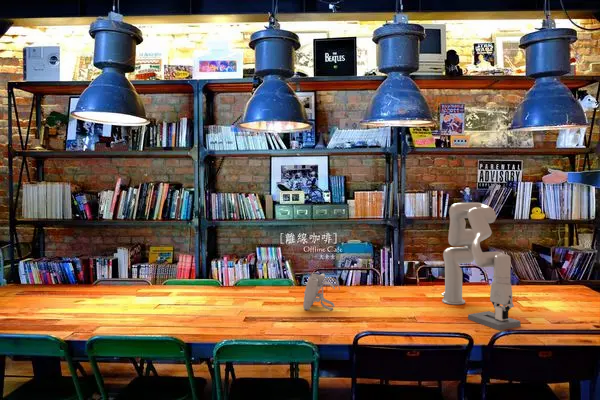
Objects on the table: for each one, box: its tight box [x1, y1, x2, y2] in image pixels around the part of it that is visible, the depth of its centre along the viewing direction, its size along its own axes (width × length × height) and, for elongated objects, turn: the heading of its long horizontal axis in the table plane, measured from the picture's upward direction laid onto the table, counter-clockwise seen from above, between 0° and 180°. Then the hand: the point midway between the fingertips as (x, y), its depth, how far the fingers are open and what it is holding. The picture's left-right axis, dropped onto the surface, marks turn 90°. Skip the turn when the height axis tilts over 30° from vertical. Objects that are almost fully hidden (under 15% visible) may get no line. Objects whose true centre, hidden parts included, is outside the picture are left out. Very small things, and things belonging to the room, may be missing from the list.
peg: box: [494, 305, 508, 322], centre depth 242 cm, size 4×4×9 cm
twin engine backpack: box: [303, 271, 341, 311], centre depth 278 cm, size 18×19×20 cm
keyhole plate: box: [467, 310, 522, 331], centre depth 247 cm, size 20×14×2 cm
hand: (501, 317), depth 242 cm, fingers closed on peg, 4 cm apart
